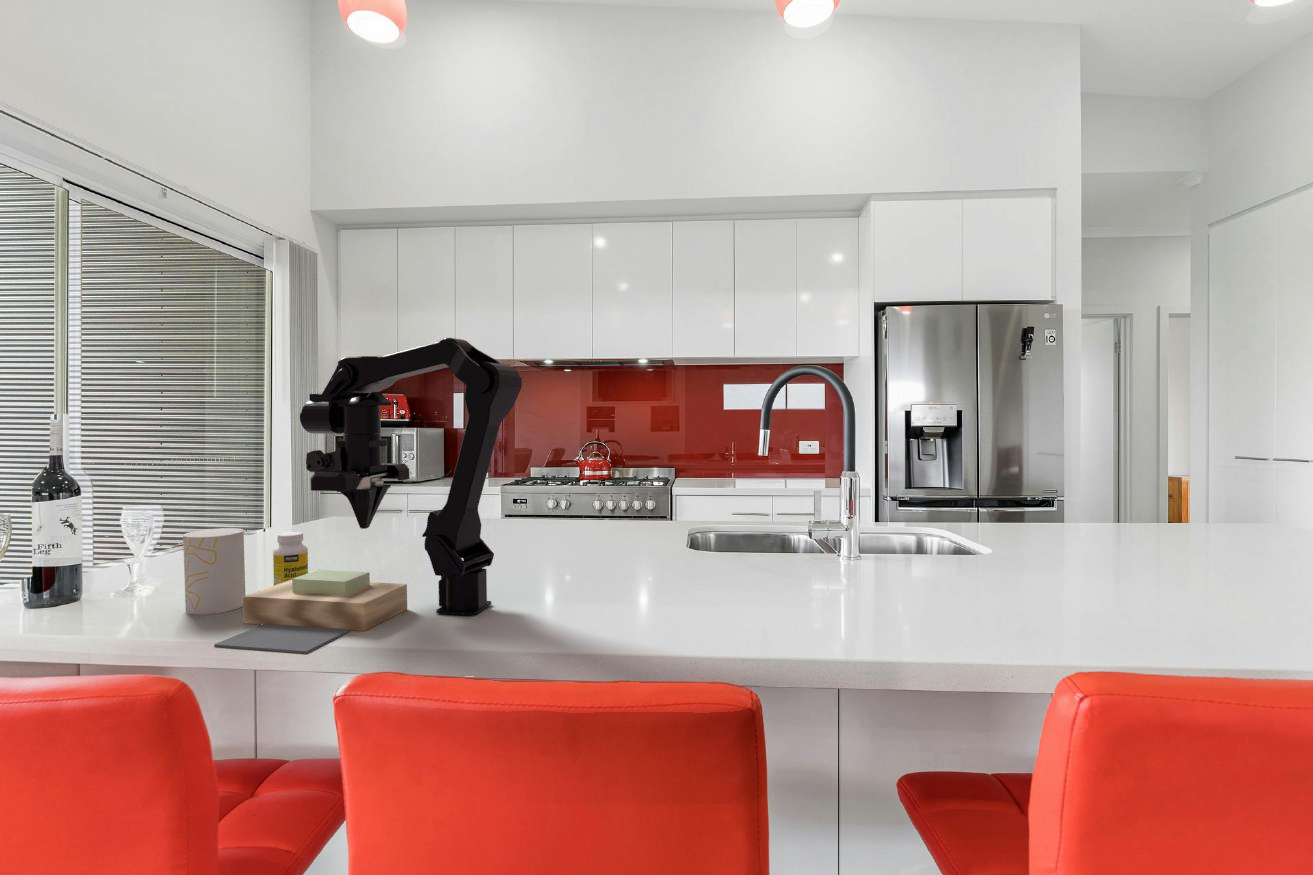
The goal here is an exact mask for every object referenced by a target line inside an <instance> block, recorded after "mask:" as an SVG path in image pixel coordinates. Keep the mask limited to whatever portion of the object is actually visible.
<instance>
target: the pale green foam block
mask: <svg viewBox="0 0 1313 875" xmlns="http://www.w3.org/2000/svg"><path fill="white" fill-rule="evenodd" d="M370 574H371V573H370V572H369V571H353V570H334V569H317V570H313V571H311V572H308V574H305V575H302V576H299V577H296V578H293V579H292V592H302V593H320V594H337V595H347V594H349V593H351V592H354V591H356V590H359V589H361V588H363V587H366V586H368V585H370V582H371V581H370V580H371V577H370V576H371V575H370Z"/></svg>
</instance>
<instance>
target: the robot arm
mask: <svg viewBox="0 0 1313 875" xmlns="http://www.w3.org/2000/svg"><path fill="white" fill-rule="evenodd" d="M445 368H449V369H450V371H451V372H452V374H453V375H454V377H455V378H457V379H458V380H459V381H461V382H462V383H463V384H464V385H465V389H464V390H465V391H464V401H465V405H466V406H465V407H466V410H467V414H468V415H467V416H468V418H467V423H466V425H465V429H464V430H465V431H464V434H463V436H462V437H463V438H462V441H461V446H460V449H459V453H458V457H457V461H456V463H455V464H456V466H455V468H454V472H453V478H452V481H451V485H450V488H449V492H448V496H447V500H446V502H445V504H444V506H443V507H442V509H437V510H434V511H430V512H429V513H428V516H427V520H426V528H425V531H424V532H423V533H422V535H421V537H422V538H424V544H423V545H424V550H425V552H426V553H427V554H428V557H429V560H430V563H431V566H432V569H433V574H434V575H435V576H438V577H439V576H440V579H439V580H438V584H437V585H438V606H439V608H437V609H436V614H441V615H442V614H443V615H444V614H445V615H460V616H461V615H463V616H476V615H477V614H479V613H480V612H482V611H483V610H485V609H486V608H488V607H489V606H491V605H492V601H491V600H488V591H487V590H488V582H487V577H488V576H487V568H486V567H490V566H491V565H492V563H493V560H494V557H495V553H494V552H493V551H492V550H491V549H490V547H489V545H487V543H485V541H484V540H483V539H482V537H481V533H482V532H481V530H482V522H481V517H480V514H479V504H480V501H481V497H482V493H483V490H484V485H485V482H486V479H487V474H488V470H489V466H490V463H491V460H492V457H493V452H494V448H495V444H496V440H497V436H498V432H499V428H500V426H501V423H502V422H503V420H504V419H505V418H506V417H507V415H508V414H509V413H510V412H511V410H512V409H513V407H514V406H515V403H516V401H517V398H518V397H519V394H520V392H521V389H522V386H523V385H522V384H523V380H522V377H521V375H520V373H519V371H518V370H517V369H516V368H515V367H514V366H512V365H511V364H507V363H506V364H504V363H502V362H500V361H498V360H497V359H496V358H493V357H491V356H490V355H489V354H487V353H485V352H483V351H481V350H479V349H478V348H476V347H475V346H474V345H472V344H471V343H469V341H467V340H465V339H461V338H454V337H445V338H443V339H441V340H439V341H436V342H431V343H428V344H423V345H420V346H416V347H413V348H409V349H405V350H401V351H397V352H394V353H389V354H386V355H375V356H374V355H370V356H369V355H367V356H366V355H364V356H363V355H360V356H359V355H358V356H357V355H356V356H345V357H344V356H343V358H341V359H339V360H338V361H337V366H336V368H335V369H334V372H333V373H332V375H331V377H330V379H329V380H328V382H327V385H325V388H323V389H324V390H323V391H322V393H310V394H309V395H308V396H309V400H308V401H307V402H306V403H305V404H304V405H303V406H302V409H301V412H300V413H299V420H300V425H301V427H302V428H303V429H304V431H305V432H307V433H310V434H318V435H319V434H323V435H325V434H326V435H328V434H329V435H338V434H339V435H341V434H343V435H342V436H343V440H337V443H336V446H335V448H336V449H335V450H333V451H331V452H326V453H324V452H323V450H320V449H318V450H316V449H315V450H310V452H307V453H306V457H305V466H306V467H305V468H306V470H307V471H308V472H310V473H313V475H312V476H311V477H310V479H309V480H310V484H309V485H310V491H313V492H314V491H316V492H337V493H341V494H342V495H343V496H344V497H346V498H347V500H348V501H349V503H350V506H351V509H352V510H353V514H354V516H355V519H356V521H357V524H358V526H359V528H360V529H362V530H363V529H365V530H367V529H368V528H370V526H371V523H372V521H373V519H374V518H375V515H376V513H377V511H378V509H379V507H380V505H381V503H382V500H383V499H384V497H385V495H386V494H387V492H388V490H389V488H391V486H392V485H391V484H390V483H389V484H386V483H385V484H384V479H385V480H386V479H388V480H398V481H407V480H410V468H409V466H408V465H406V464H405V463H399V462H398V463H391V462H390V463H388V462H387V463H386V462H385V463H382V462H383V461H382V447H386V446H387V439H382V434H381V433H382V428H381V427H382V425H381V419H382V418H381V407H391V406H392V402H391V400H389V399H388V398H387V397H385V395H384V394H383V392H381V391H384V390H386V389H388V388H390V387H391V386H393V385H394V384H395V383H396V382H397V381H400V380H401V379H405V378H410V377H413V376H417V375H421V374H426V373H430V372H433V371H437V370H442V369H445Z"/></svg>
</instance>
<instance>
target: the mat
mask: <svg viewBox="0 0 1313 875" xmlns="http://www.w3.org/2000/svg"><path fill="white" fill-rule="evenodd" d="M350 632H351V630H350V629H337V628H322V627H307V626H292V625H278V624H259V626H255V627H254V628H251V629H248V630H246V631H243V632H241V633H238V634H236V635H234V636H231V637H229V638H226V639H223V640H221V641H219V642H217V643H214V644H213V647H215V648H216V647H217V648H230V649H241V650H242V649H243V650H253V651H254V650H255V651H257V650H258V651H268V652H283V653H292V654H293V653H294V654H295V653H296V654H309V653H311V652H312V651H314V650H317V649H318V648H320V647H322V646H324V645H327V644H328V643H330V642H332V641H335V640H336V639H339V638H340V637H342V636H344V635H346V634H348V633H350Z"/></svg>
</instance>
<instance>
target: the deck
mask: <svg viewBox="0 0 1313 875" xmlns="http://www.w3.org/2000/svg"><path fill="white" fill-rule="evenodd" d="M242 607H243V608H242V612H243V623H244V624H252V625H253V624H254V625H255V624H256V625H263V624H278V625H292V626H307V627H322V628H337V629H350V631H354V630H355V632H357V631H358V632H367V631H368V630H370V629H372V628H374V627H376V626H378V625H379V623H380V624H381V622H382V623H383V621H384V622H385V621H388V620H389V619H392V618H393V617H395V616H397V615H399V614H401V613H402V612H405V611H407V610H408V583H394V582H393V583H392V582H376V581H375V582H373V581H372V582H371V581H370V585H368V586H366V587H363V588H361V589H359V590H356V591H354V592H351V593H349V594H347V595H337V594H320V593H302V592H292V580H289V581H286V582H283V583H280V584H277V585H275V586H274V585H271V586H269V587H266V588H263V589H259V590H257V591H254V592H251V593H248V594H245V596H243V606H242ZM404 610H405V611H404ZM377 624H378V625H377Z"/></svg>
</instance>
